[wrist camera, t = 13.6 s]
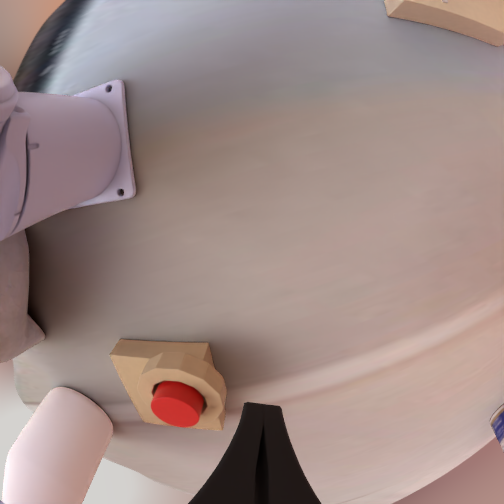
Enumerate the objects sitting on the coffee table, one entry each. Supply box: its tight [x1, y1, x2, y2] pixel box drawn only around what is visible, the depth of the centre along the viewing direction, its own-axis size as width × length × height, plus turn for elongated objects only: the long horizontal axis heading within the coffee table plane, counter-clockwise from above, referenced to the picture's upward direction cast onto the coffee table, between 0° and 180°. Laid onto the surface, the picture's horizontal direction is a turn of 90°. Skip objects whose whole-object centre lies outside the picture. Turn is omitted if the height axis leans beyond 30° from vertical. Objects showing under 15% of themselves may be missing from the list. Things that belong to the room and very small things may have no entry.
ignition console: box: [110, 339, 227, 430], centre depth 22 cm, size 9×10×4 cm
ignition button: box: [151, 381, 204, 427], centre depth 19 cm, size 4×4×2 cm
